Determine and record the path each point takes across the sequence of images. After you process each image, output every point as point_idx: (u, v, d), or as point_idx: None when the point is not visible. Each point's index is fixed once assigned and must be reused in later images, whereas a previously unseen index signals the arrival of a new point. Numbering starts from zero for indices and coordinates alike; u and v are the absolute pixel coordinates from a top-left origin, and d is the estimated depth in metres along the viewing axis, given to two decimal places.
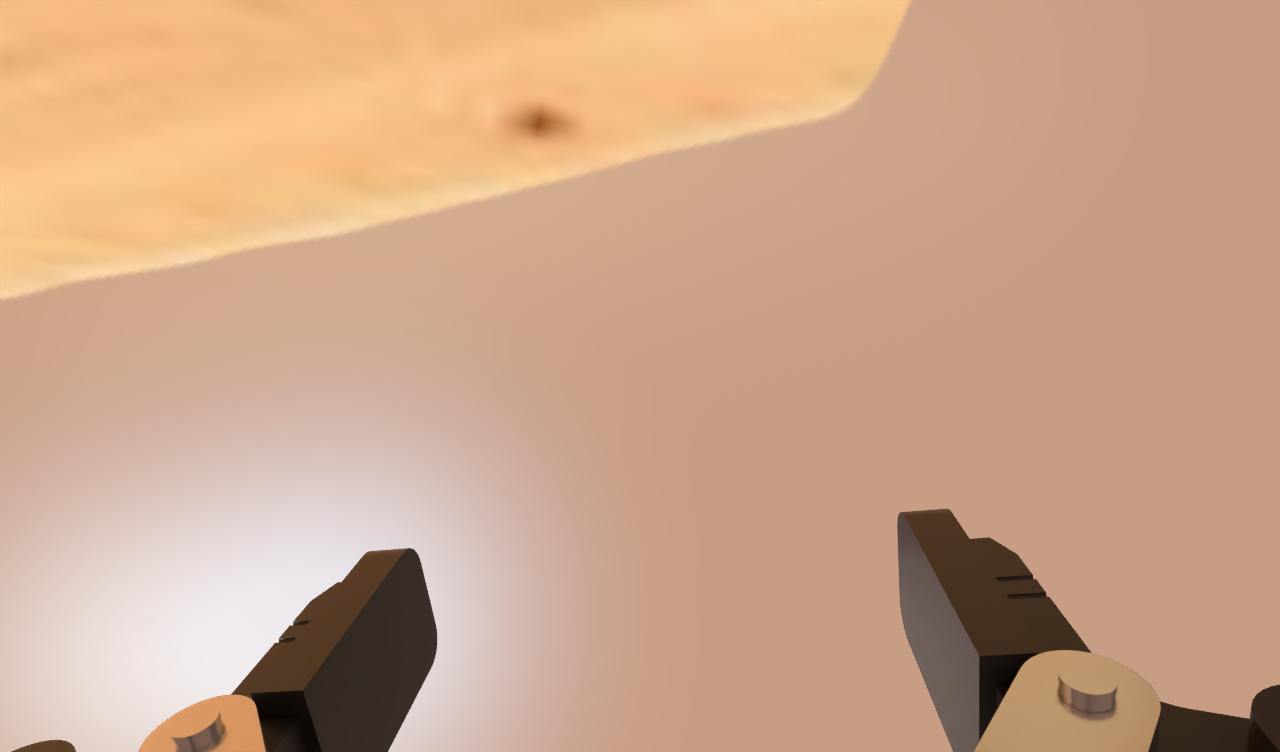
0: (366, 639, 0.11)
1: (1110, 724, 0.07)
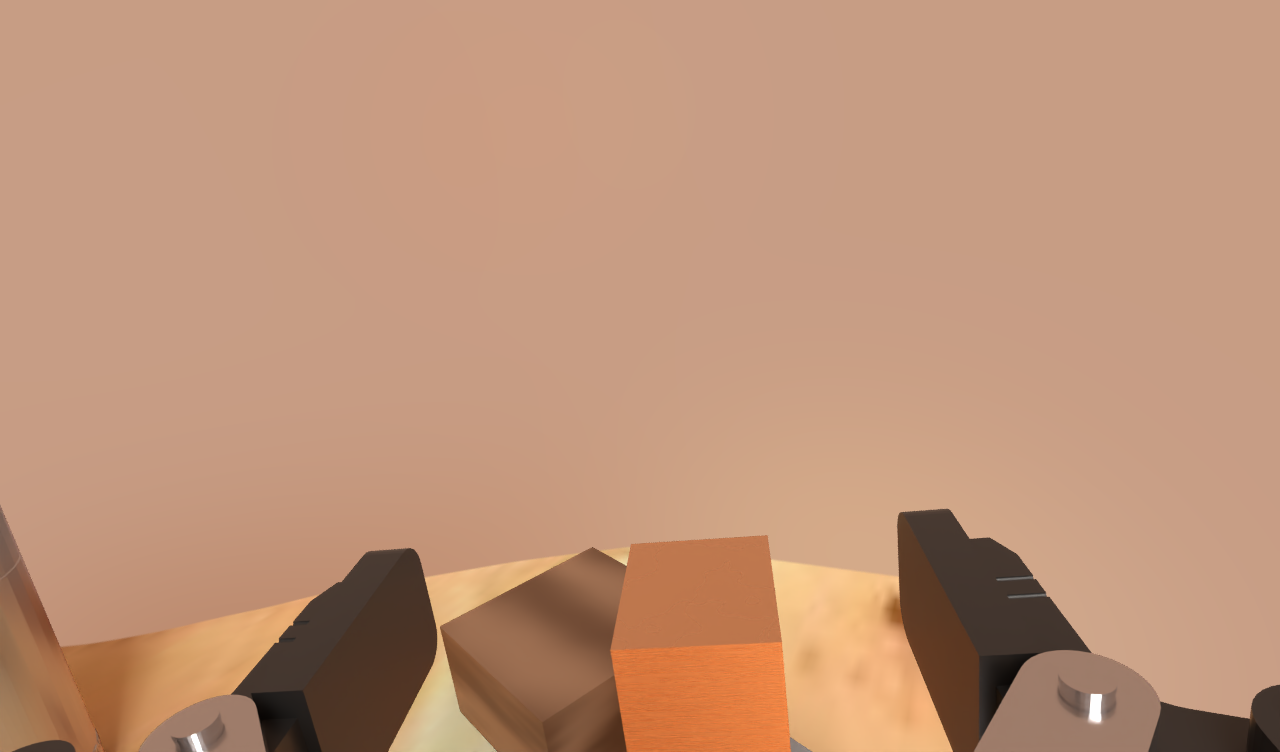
0: (366, 639, 0.11)
1: (1110, 724, 0.07)
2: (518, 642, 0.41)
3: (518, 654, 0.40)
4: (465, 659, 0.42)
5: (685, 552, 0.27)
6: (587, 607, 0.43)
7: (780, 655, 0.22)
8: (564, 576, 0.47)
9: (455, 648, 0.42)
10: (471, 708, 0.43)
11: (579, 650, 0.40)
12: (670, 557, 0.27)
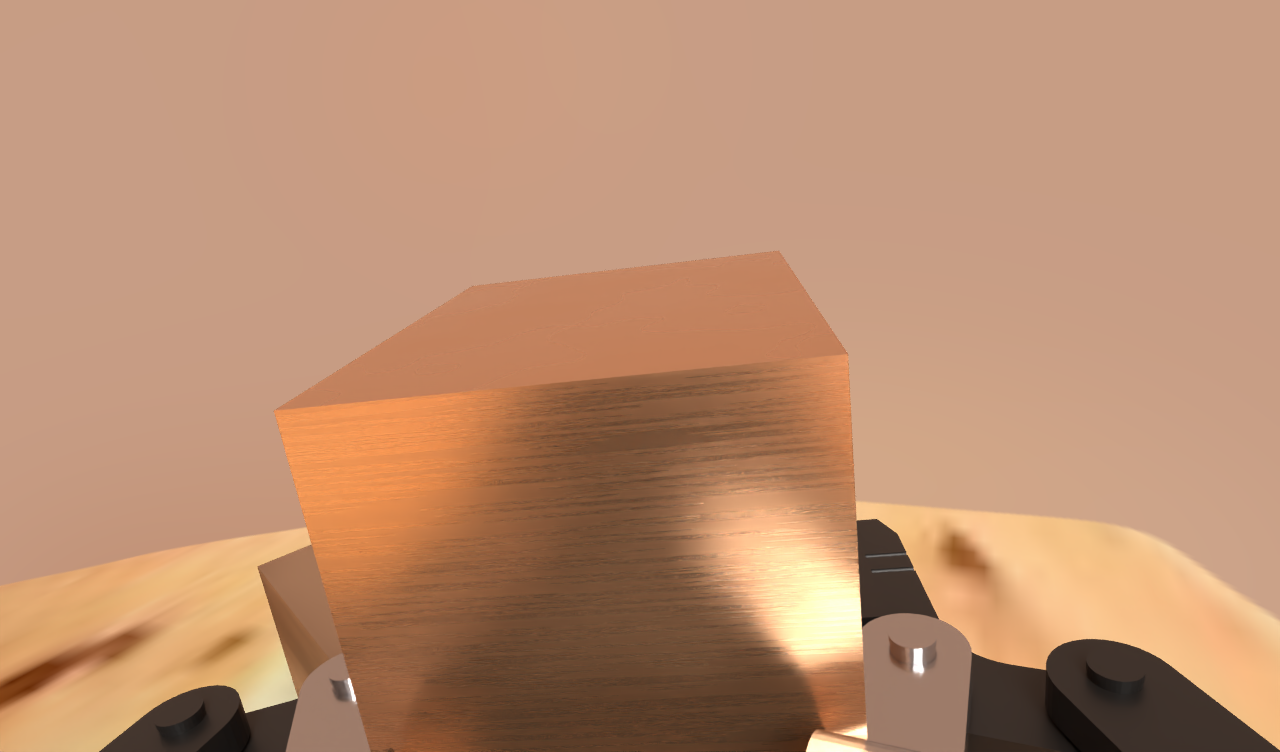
0: None
1: (923, 674, 0.08)
2: None
3: None
4: (285, 614, 0.26)
5: (586, 281, 0.11)
6: None
7: (842, 407, 0.06)
8: None
9: (274, 598, 0.27)
10: None
11: None
12: (549, 288, 0.11)
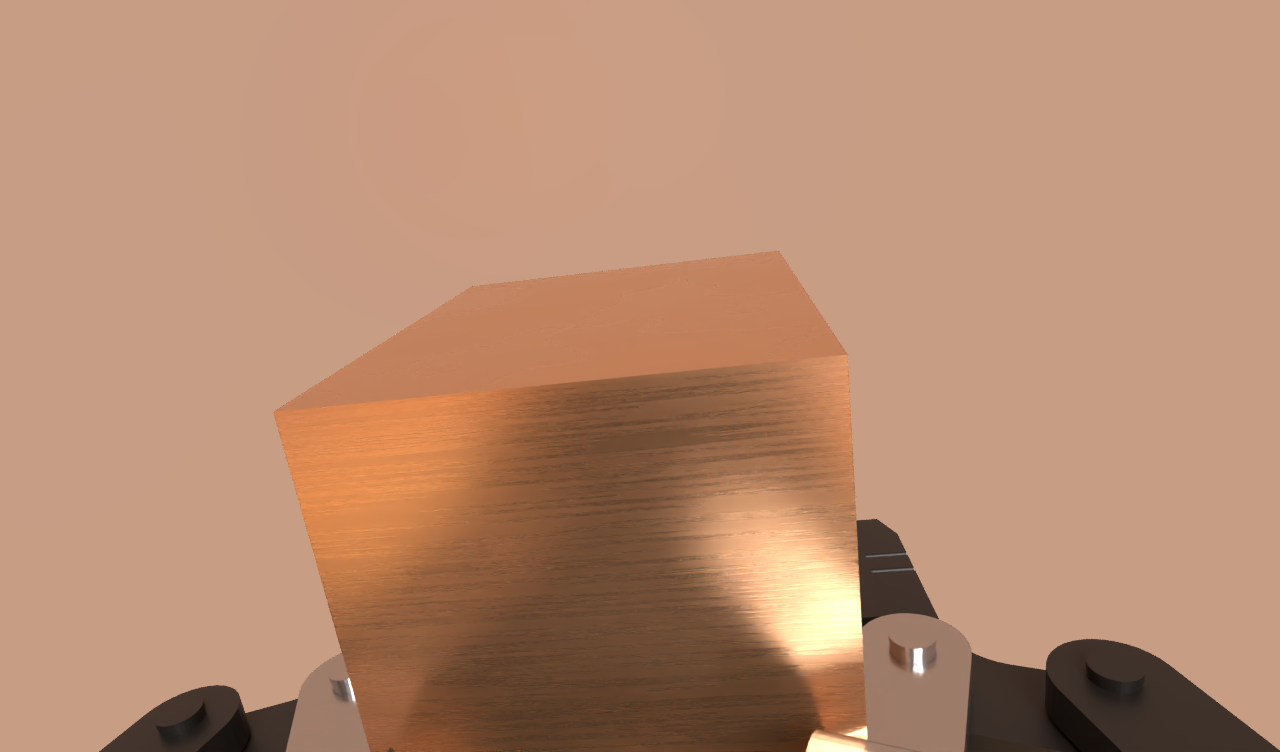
0: None
1: (923, 674, 0.08)
2: None
3: None
4: None
5: (586, 281, 0.11)
6: None
7: (842, 407, 0.06)
8: None
9: None
10: None
11: None
12: (549, 288, 0.11)
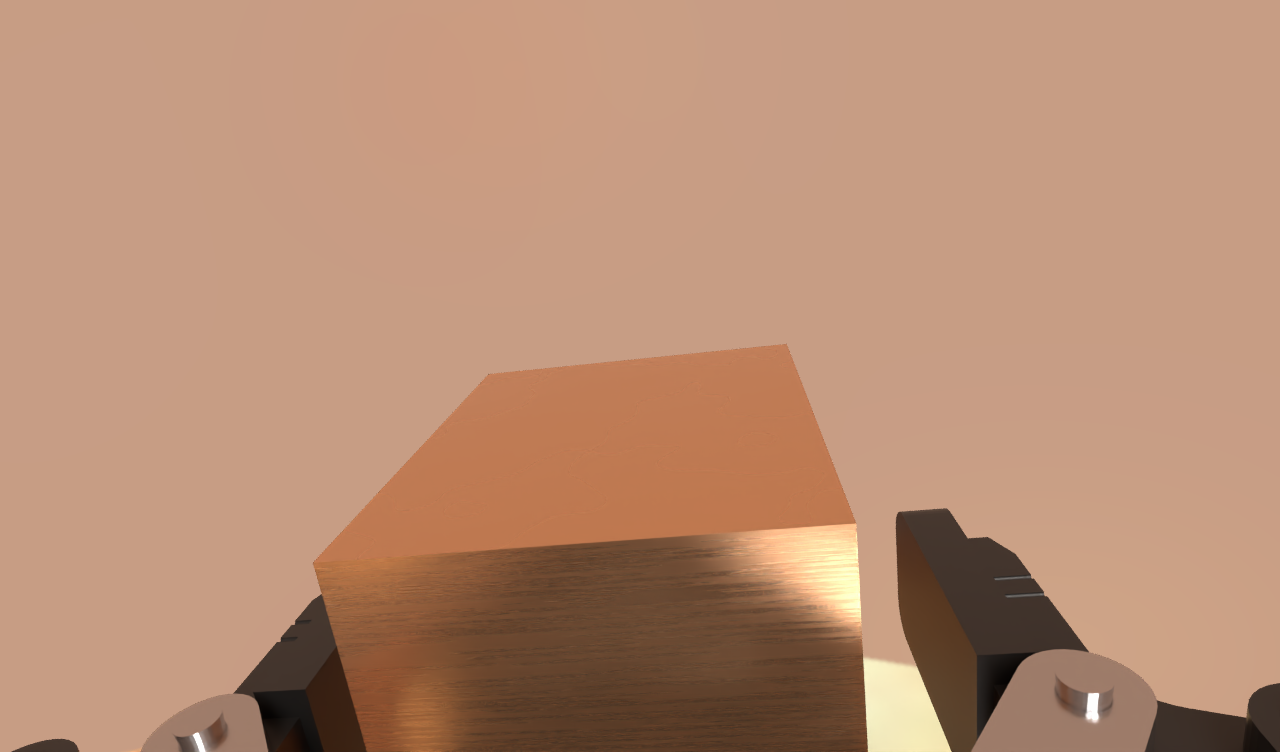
0: None
1: (1107, 723, 0.07)
2: None
3: None
4: None
5: (600, 376, 0.12)
6: None
7: (851, 570, 0.07)
8: None
9: None
10: None
11: None
12: (564, 385, 0.12)
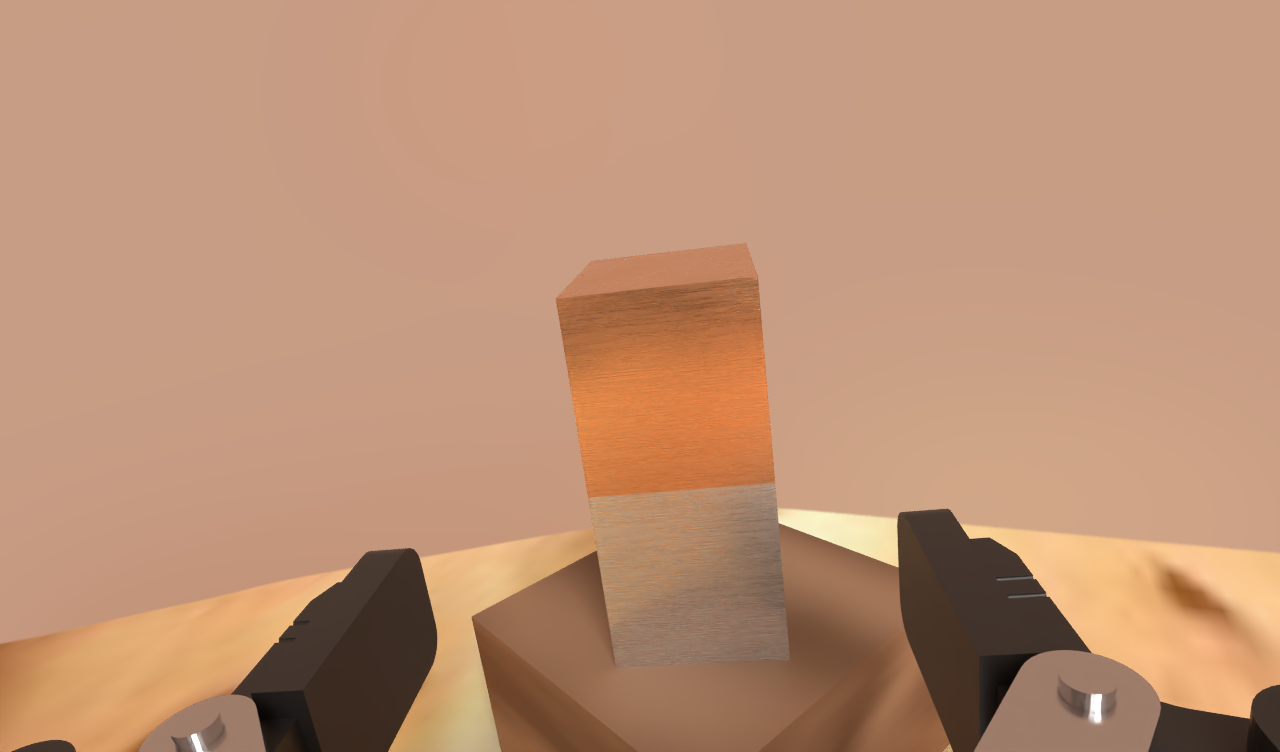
0: (367, 638, 0.11)
1: (1110, 724, 0.07)
2: None
3: None
4: (520, 673, 0.23)
5: (651, 257, 0.23)
6: None
7: (756, 294, 0.18)
8: None
9: (500, 653, 0.24)
10: None
11: None
12: (634, 260, 0.23)
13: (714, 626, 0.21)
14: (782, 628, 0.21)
